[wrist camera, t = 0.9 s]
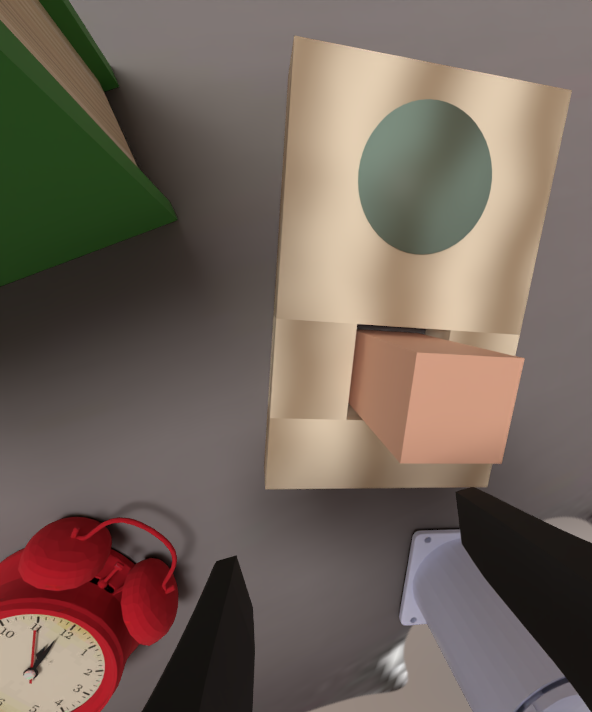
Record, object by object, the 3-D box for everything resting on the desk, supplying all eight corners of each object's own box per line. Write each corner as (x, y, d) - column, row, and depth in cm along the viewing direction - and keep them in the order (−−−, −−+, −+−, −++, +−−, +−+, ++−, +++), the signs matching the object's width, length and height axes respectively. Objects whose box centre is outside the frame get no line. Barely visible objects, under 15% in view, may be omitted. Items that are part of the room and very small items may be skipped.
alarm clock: (-137, 708, 16) (-17, 572, 12) (-18, 583, 22) (89, 462, 18) (44, 778, 18) (196, 684, 14) (107, 647, 24) (228, 555, 20)
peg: (417, 333, 20) (524, 358, 12) (407, 399, 20) (501, 463, 13) (350, 328, 19) (416, 352, 11) (343, 396, 20) (400, 463, 12)
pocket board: (528, 118, 18) (573, 89, 15) (461, 465, 22) (488, 487, 19) (288, 75, 16) (294, 33, 13) (264, 465, 20) (265, 490, 17)
